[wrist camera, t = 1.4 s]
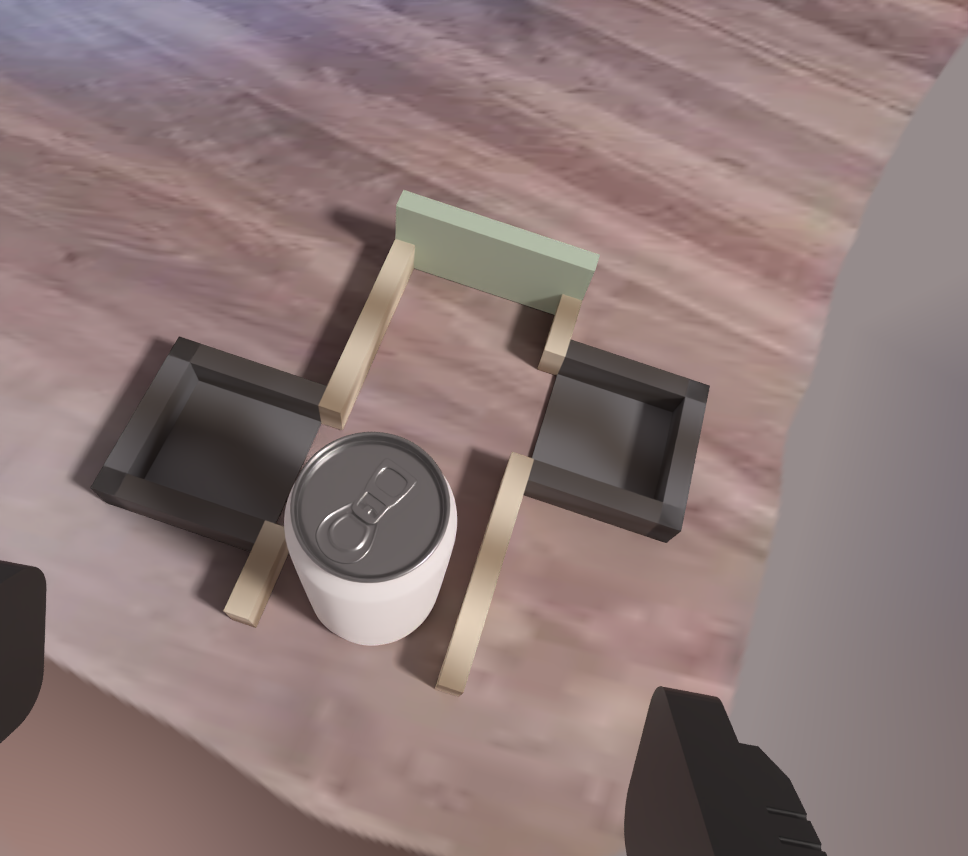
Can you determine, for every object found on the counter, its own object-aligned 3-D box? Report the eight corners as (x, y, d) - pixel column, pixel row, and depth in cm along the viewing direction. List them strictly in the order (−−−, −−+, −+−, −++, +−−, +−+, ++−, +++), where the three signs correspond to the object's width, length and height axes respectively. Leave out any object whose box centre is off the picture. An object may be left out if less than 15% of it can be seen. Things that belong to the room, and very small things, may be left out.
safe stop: (573, 321, 45) (594, 271, 41) (394, 261, 45) (396, 205, 41) (578, 305, 46) (599, 254, 41) (401, 246, 46) (403, 190, 41)
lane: (623, 753, 35) (637, 752, 33) (70, 564, 36) (52, 552, 34) (706, 348, 45) (721, 328, 43) (275, 205, 46) (270, 179, 44)
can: (280, 592, 36) (237, 519, 26) (365, 494, 39) (359, 389, 28) (384, 675, 35) (385, 634, 25) (464, 568, 38) (497, 489, 27)
